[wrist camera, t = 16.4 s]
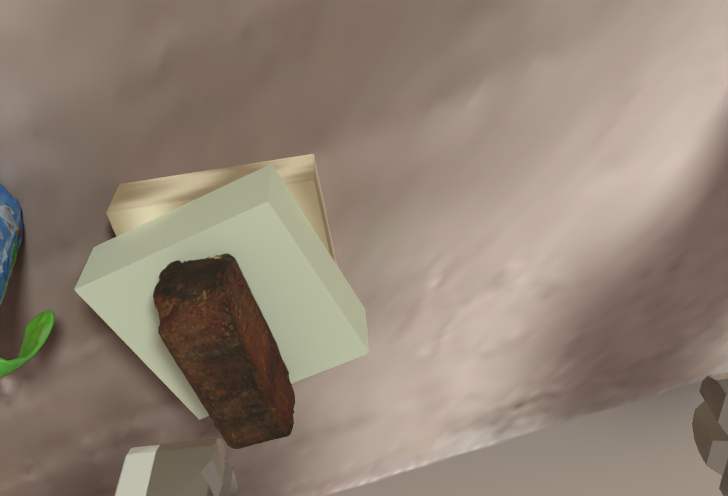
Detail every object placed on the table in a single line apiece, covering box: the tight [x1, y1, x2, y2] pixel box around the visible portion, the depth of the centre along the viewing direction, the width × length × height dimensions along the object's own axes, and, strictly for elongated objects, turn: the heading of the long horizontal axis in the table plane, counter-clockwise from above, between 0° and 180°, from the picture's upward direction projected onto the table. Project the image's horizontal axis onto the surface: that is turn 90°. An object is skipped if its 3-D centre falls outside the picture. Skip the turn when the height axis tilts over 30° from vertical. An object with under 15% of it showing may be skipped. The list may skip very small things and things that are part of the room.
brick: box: [153, 254, 295, 449], centre depth 37 cm, size 11×4×5 cm, turn 16°
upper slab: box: [74, 164, 369, 420], centre depth 40 cm, size 12×12×4 cm
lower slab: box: [106, 154, 337, 265], centre depth 43 cm, size 12×12×4 cm
